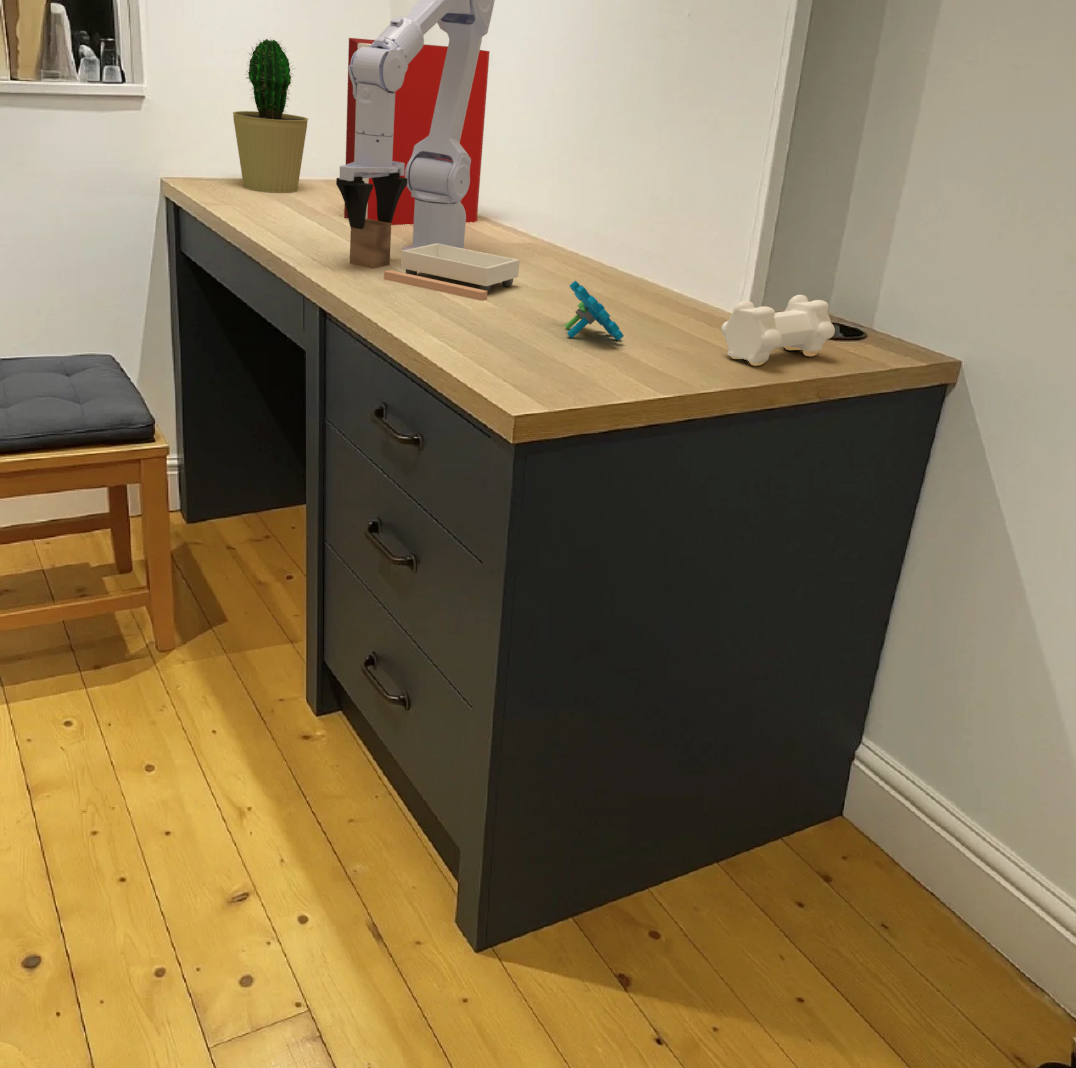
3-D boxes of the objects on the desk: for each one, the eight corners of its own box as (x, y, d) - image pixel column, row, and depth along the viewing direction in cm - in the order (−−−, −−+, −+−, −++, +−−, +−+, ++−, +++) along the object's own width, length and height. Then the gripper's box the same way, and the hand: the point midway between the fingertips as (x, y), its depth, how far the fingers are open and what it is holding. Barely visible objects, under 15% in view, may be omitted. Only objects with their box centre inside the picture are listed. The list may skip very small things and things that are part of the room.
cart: (435, 268, 177) (436, 243, 176) (517, 285, 172) (519, 259, 170) (400, 277, 169) (401, 250, 167) (485, 295, 163) (487, 268, 162)
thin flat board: (460, 262, 186) (460, 253, 185) (550, 281, 179) (551, 271, 179) (383, 281, 167) (384, 271, 166) (481, 303, 161) (482, 292, 160)
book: (367, 226, 209) (373, 41, 195) (344, 218, 214) (348, 37, 201) (480, 221, 226) (493, 51, 212) (456, 214, 231) (467, 48, 218)
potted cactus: (322, 193, 238) (324, 41, 226) (260, 195, 228) (259, 36, 215) (280, 181, 248) (280, 35, 235) (219, 183, 237) (216, 30, 225)
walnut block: (366, 262, 179) (367, 218, 176) (389, 267, 177) (391, 223, 174) (349, 266, 175) (350, 221, 172) (373, 271, 173) (374, 226, 170)
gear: (635, 338, 145) (587, 279, 141) (601, 368, 145) (552, 311, 142) (614, 328, 155) (569, 273, 152) (582, 356, 155) (536, 302, 152)
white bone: (783, 349, 157) (790, 291, 154) (835, 359, 151) (842, 299, 148) (714, 360, 148) (720, 298, 145) (766, 372, 142) (773, 308, 139)
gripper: (368, 138, 160) (365, 234, 166) (422, 136, 172) (417, 225, 178) (328, 132, 163) (326, 226, 168) (384, 129, 175) (381, 218, 180)
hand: (370, 225), depth 173 cm, fingers open, 7 cm apart
